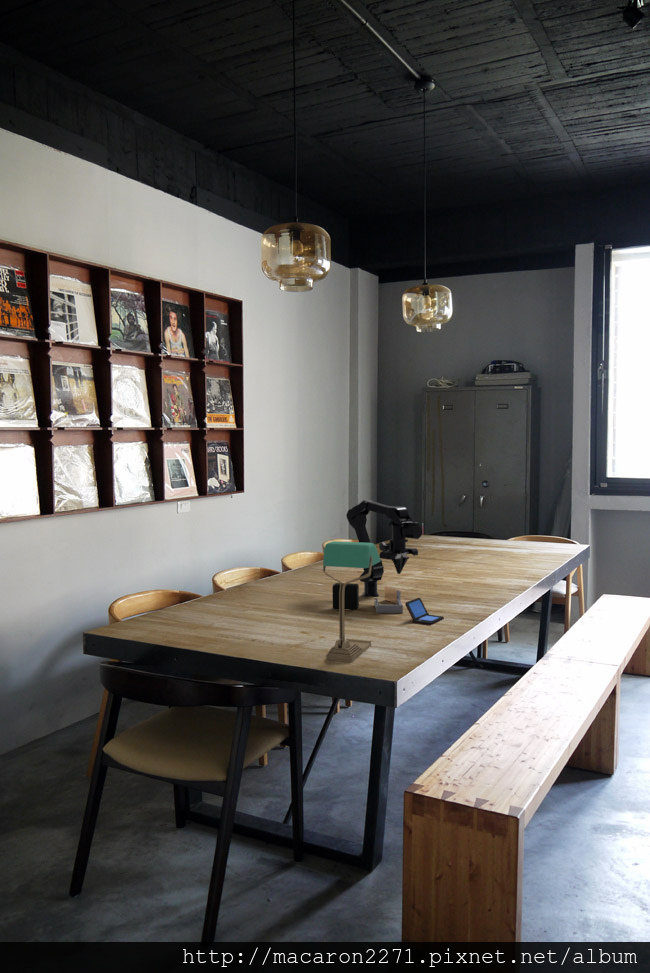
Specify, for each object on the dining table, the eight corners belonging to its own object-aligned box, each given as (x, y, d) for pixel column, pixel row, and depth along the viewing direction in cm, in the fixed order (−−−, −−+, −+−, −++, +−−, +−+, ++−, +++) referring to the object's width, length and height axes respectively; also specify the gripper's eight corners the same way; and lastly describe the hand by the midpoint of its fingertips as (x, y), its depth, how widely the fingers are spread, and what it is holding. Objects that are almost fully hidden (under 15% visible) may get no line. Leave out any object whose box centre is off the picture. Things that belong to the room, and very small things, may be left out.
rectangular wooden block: (401, 604, 311) (401, 590, 310) (397, 604, 310) (397, 591, 310) (387, 599, 321) (387, 586, 320) (384, 599, 320) (384, 586, 320)
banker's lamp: (315, 658, 234) (314, 546, 232) (338, 641, 254) (337, 538, 252) (363, 663, 229) (363, 548, 227) (383, 645, 248) (382, 539, 246)
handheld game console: (430, 626, 275) (430, 606, 275) (404, 622, 281) (404, 602, 281) (445, 619, 286) (445, 600, 285) (419, 616, 292) (419, 596, 291)
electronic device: (357, 610, 301) (357, 585, 300) (332, 609, 303) (332, 584, 302) (358, 608, 305) (358, 583, 305) (334, 607, 307) (334, 582, 307)
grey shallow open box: (374, 605, 310) (374, 598, 310) (398, 605, 310) (398, 598, 310) (377, 613, 296) (377, 605, 296) (402, 612, 296) (402, 605, 296)
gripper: (399, 533, 330) (399, 568, 331) (369, 537, 317) (369, 574, 318) (418, 535, 322) (418, 571, 323) (389, 539, 309) (389, 577, 310)
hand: (398, 573), depth 319 cm, fingers closed
